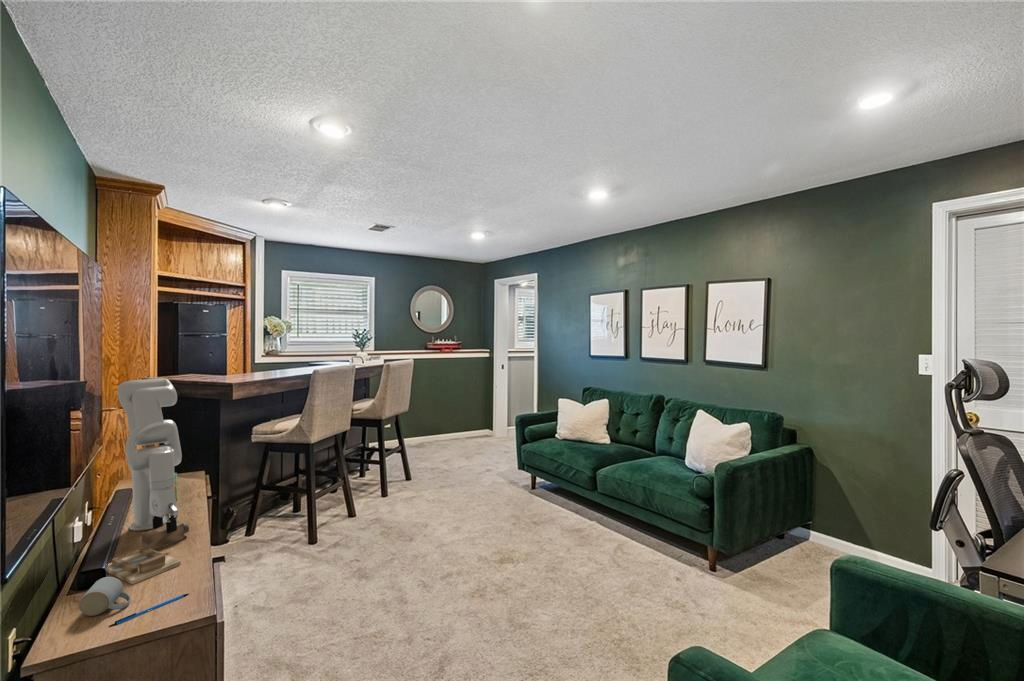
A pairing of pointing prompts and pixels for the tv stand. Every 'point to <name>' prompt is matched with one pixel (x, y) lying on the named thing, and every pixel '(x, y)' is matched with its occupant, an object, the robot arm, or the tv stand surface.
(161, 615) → the tv stand surface
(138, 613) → the pen
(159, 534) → the brown wooden block
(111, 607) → the ceramic mug
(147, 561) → the jig
